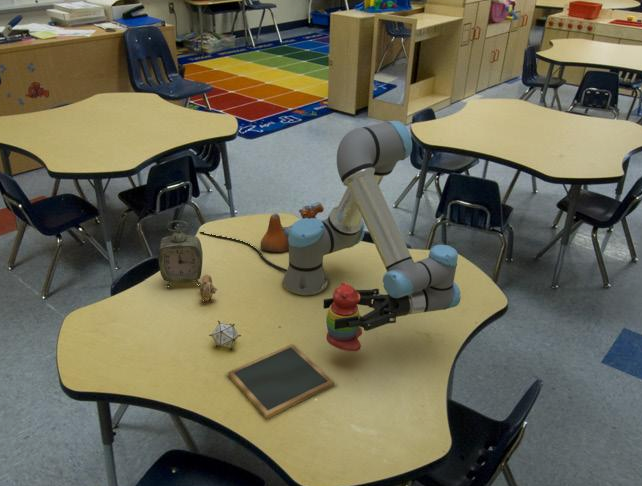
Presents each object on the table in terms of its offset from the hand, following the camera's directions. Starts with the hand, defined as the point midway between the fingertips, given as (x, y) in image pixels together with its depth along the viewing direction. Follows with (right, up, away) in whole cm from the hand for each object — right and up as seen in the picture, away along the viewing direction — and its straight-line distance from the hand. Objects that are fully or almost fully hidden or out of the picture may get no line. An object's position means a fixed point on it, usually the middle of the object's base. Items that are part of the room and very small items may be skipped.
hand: (329, 314), depth 161 cm
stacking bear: (+5, -8, +6) cm, 11 cm away
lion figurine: (-37, +2, +39) cm, 54 cm away
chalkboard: (-13, -19, +3) cm, 23 cm away
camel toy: (-7, +21, +68) cm, 72 cm away
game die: (-30, -11, +17) cm, 36 cm away
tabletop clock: (-47, +7, +47) cm, 67 cm away
